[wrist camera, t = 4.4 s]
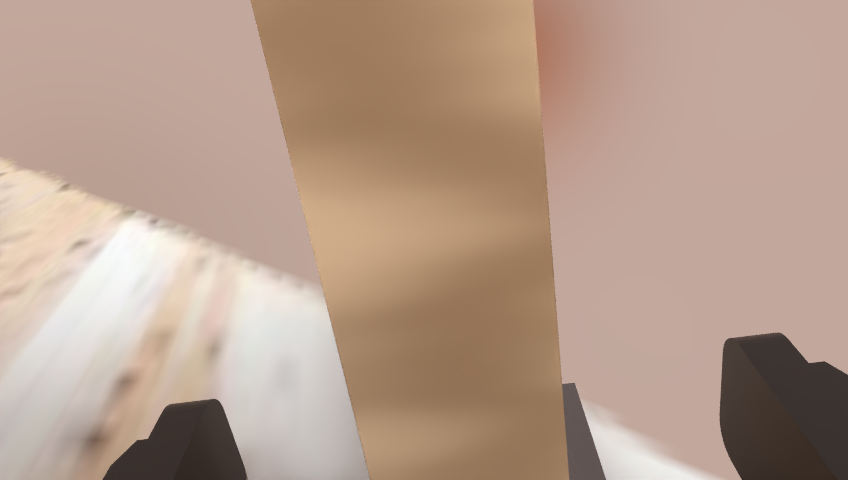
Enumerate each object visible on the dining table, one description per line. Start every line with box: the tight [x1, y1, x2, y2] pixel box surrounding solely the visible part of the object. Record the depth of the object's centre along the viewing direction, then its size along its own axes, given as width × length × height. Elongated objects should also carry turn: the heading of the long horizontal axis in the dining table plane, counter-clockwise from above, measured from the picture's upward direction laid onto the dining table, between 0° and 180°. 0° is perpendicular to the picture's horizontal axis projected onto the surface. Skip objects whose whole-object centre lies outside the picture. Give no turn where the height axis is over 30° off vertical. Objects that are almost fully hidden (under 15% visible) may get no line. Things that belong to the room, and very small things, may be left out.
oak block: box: [251, 0, 569, 480], centre depth 12 cm, size 2×6×20 cm, turn 0°
